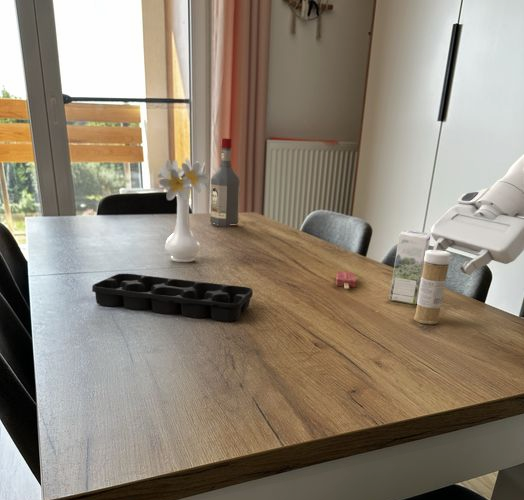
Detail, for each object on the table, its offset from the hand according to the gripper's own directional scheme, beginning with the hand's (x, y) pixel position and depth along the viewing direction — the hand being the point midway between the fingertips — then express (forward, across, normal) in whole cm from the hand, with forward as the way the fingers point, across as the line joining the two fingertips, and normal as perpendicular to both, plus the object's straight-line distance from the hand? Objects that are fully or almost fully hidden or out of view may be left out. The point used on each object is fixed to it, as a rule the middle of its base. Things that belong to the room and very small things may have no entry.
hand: (447, 265), depth 95 cm
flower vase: (+34, +56, +19) cm, 68 cm away
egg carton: (+41, +18, +26) cm, 52 cm away
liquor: (+15, +113, 0) cm, 114 cm away
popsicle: (+11, +28, -4) cm, 30 cm away
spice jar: (+10, 0, -6) cm, 11 cm away
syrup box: (+6, +14, -9) cm, 18 cm away
